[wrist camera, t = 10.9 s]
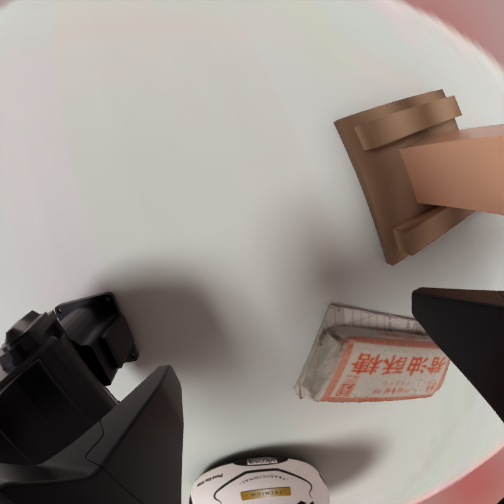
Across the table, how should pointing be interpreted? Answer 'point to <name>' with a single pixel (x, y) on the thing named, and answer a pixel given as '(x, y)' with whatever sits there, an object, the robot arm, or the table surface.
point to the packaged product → (371, 359)
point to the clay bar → (459, 169)
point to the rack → (399, 169)
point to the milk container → (261, 483)
